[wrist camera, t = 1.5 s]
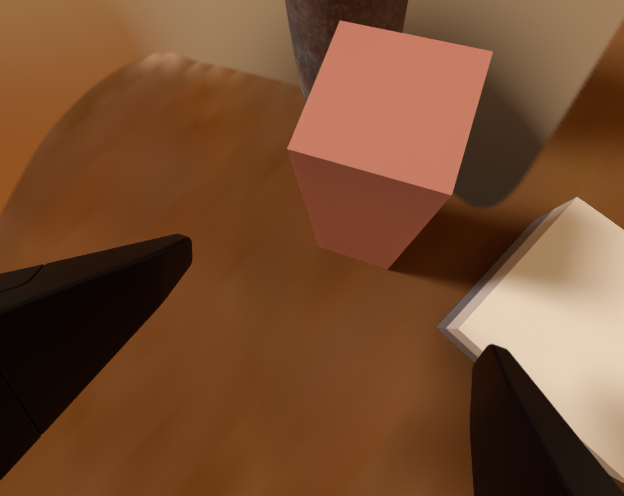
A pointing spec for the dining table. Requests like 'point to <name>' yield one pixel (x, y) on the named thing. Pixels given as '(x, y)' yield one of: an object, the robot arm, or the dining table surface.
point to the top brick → (384, 137)
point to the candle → (333, 28)
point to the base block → (559, 320)
